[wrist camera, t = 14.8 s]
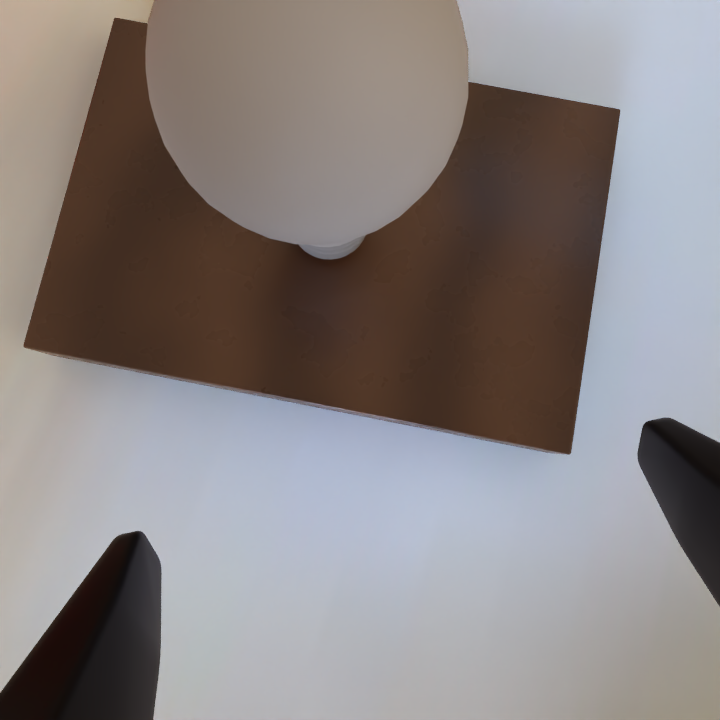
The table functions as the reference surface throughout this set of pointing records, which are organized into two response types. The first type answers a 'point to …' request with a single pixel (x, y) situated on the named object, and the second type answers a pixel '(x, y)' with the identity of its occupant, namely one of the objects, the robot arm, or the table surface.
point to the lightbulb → (308, 109)
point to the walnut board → (344, 273)
